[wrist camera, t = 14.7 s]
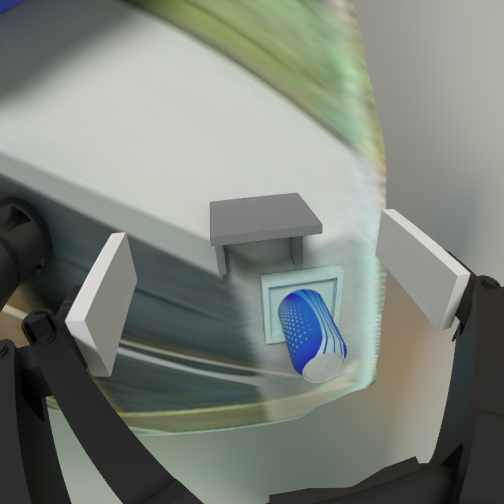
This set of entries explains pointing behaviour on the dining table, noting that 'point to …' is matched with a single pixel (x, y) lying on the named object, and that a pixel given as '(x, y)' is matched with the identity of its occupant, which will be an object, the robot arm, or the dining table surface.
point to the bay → (261, 223)
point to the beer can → (312, 336)
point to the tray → (283, 283)
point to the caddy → (8, 5)
